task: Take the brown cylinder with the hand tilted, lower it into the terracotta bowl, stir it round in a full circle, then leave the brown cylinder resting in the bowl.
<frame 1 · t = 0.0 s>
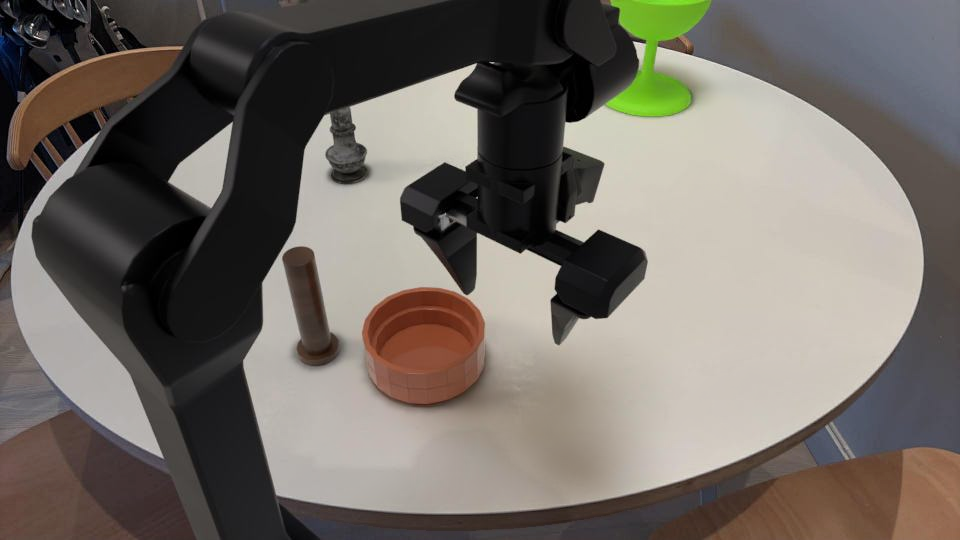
hand: (513, 315, 57), 15 cm above the table, tool pointing down, fingers open, 9 cm apart
wineglass: (643, 95, 120), on the table
grey chess piece: (349, 175, 101), on the table
brown cylinder: (318, 350, 74), on the table
bowl: (426, 361, 73), on the table
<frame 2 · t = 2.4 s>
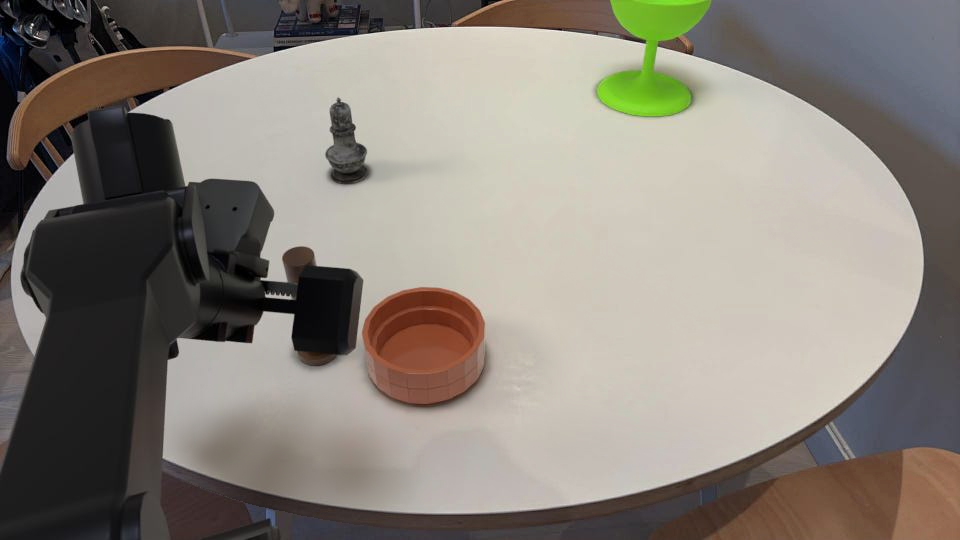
hand: (278, 309, 60), 13 cm above the table, tool tilted 45°, fingers open, 9 cm apart
nothing on the table moved.
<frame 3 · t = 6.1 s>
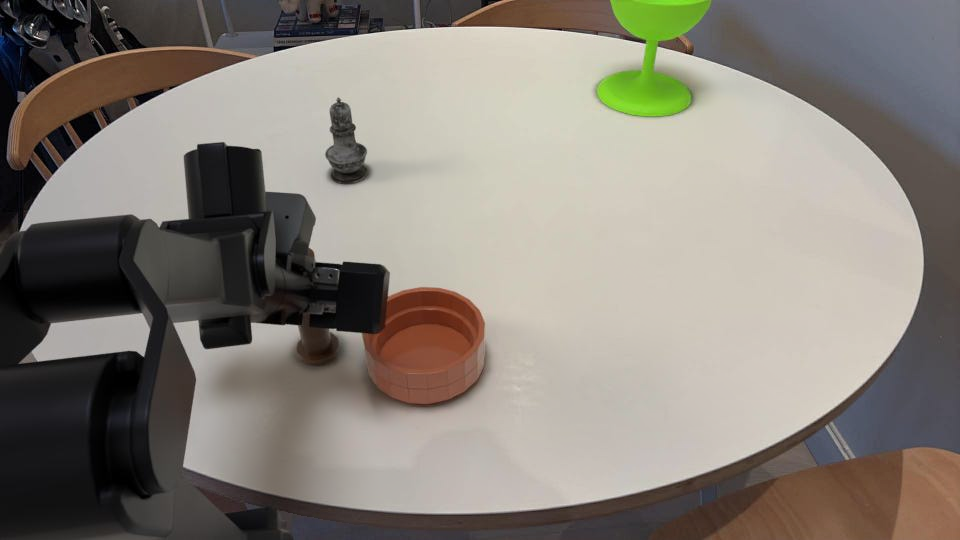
hand: (313, 296, 71), 7 cm above the table, tool tilted 45°, fingers closed on brown cylinder, 3 cm apart
brown cylinder: (318, 350, 74), on the table, touching gripper
everything else where it was.
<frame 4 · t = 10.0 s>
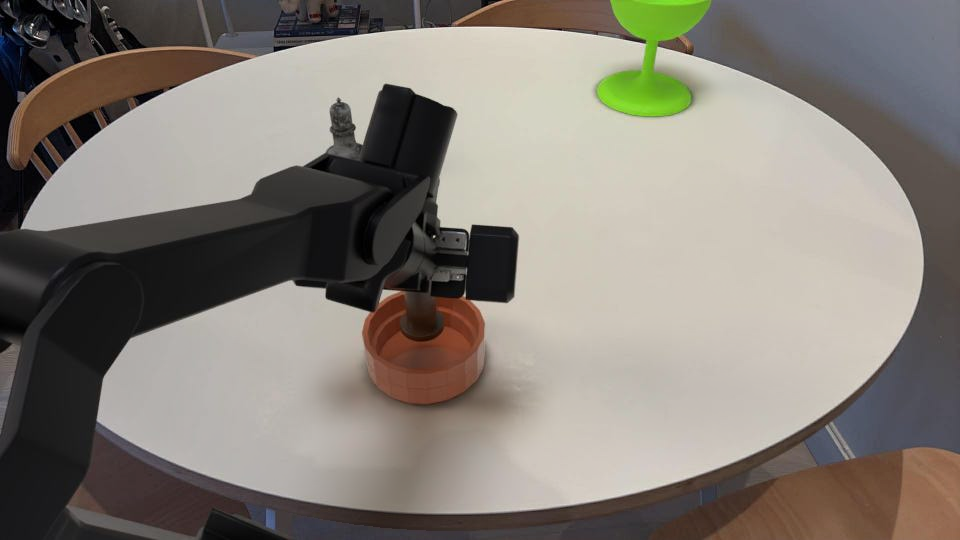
hand: (421, 267, 67), 12 cm above the table, tool tilted 45°, fingers closed on brown cylinder, 3 cm apart
brown cylinder: (422, 326, 70), point 5 cm above the table, touching gripper
everything else where it was.
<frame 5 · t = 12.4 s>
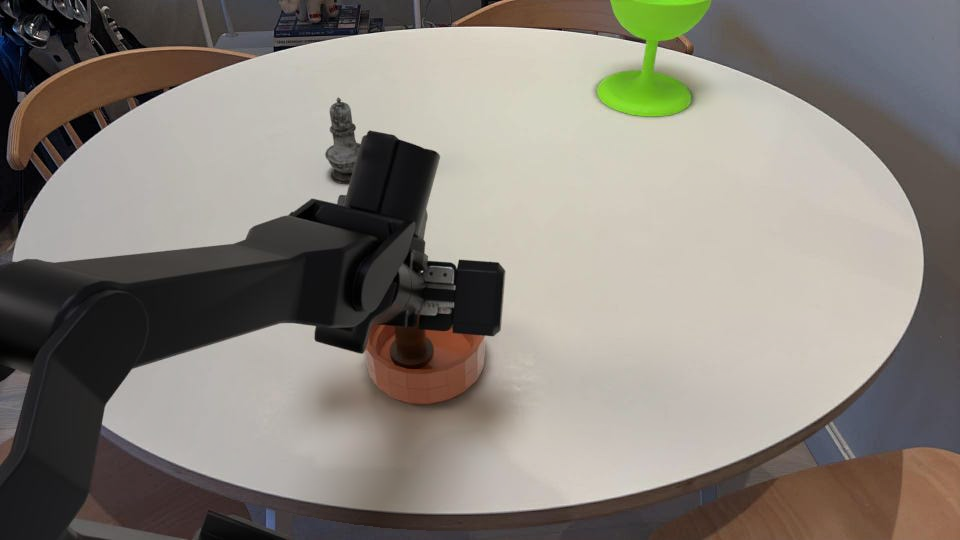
hand: (410, 296, 68), 9 cm above the table, tool tilted 45°, fingers closed on brown cylinder, 3 cm apart
brown cylinder: (412, 353, 71), point 2 cm above the table, touching gripper
everything else where it was.
when the fingers open (7 cm above the table, at t = 14.2 s): brown cylinder stays where it is, resting on bowl.
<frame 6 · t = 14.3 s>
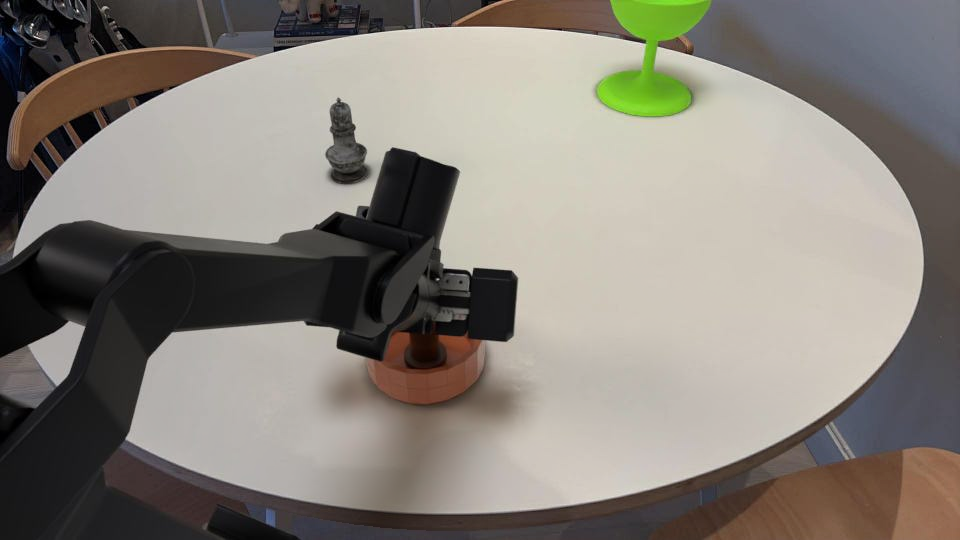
hand: (425, 301, 70), 7 cm above the table, tool tilted 45°, fingers open, 3 cm apart
brown cylinder: (425, 357, 73), point 1 cm above the table, touching bowl
everything else where it was.
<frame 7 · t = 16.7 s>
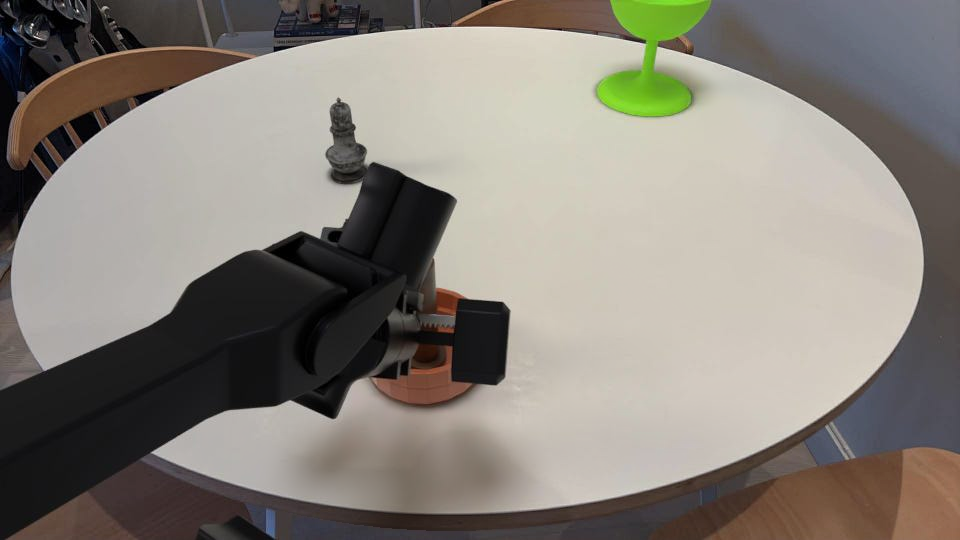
hand: (405, 333, 61), 11 cm above the table, tool tilted 45°, fingers open, 9 cm apart
nothing on the table moved.
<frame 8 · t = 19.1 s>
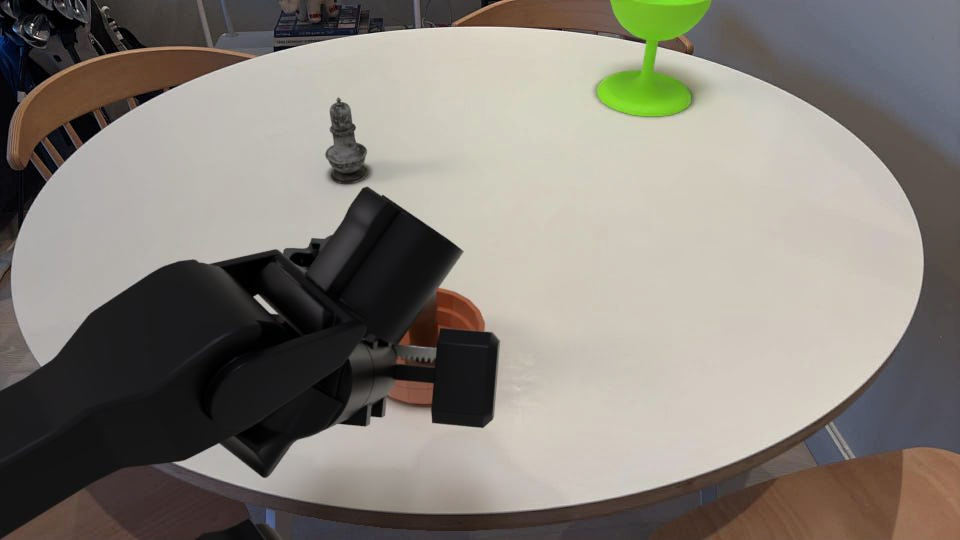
hand: (384, 361, 55), 14 cm above the table, tool tilted 45°, fingers open, 9 cm apart
nothing on the table moved.
at the end: brown cylinder inside the target area in the bowl (0.1 cm from its centre), point 0.6 cm above the bowl's base; the gripper is holding nothing; wineglass moved 0.2 cm from its start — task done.
